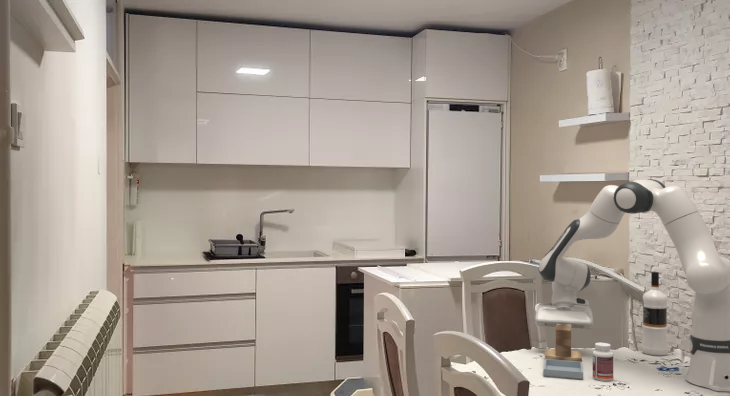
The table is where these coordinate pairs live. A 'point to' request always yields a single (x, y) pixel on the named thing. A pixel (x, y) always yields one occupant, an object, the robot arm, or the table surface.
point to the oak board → (574, 357)
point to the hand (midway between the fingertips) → (563, 336)
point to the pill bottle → (602, 362)
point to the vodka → (654, 320)
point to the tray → (563, 369)
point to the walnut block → (563, 340)
